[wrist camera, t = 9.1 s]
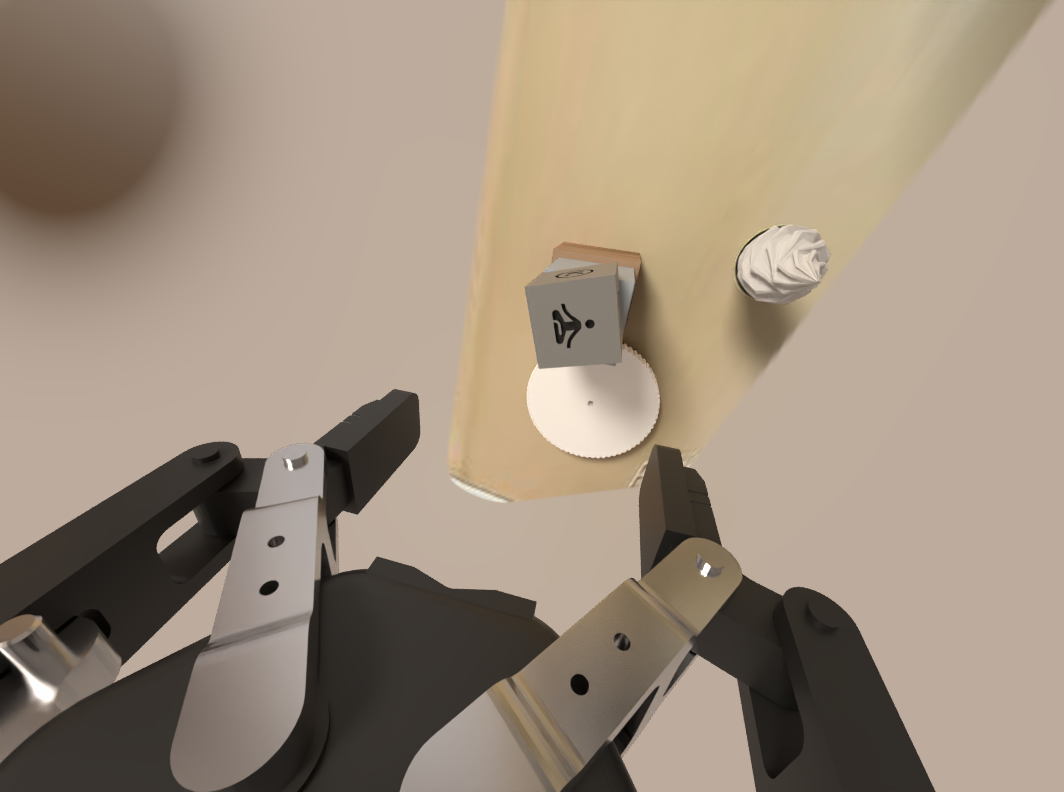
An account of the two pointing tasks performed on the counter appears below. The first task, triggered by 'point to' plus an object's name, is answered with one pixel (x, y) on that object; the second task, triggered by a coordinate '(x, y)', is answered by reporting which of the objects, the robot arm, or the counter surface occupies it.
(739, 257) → the ice cream cone
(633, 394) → the plastic lid
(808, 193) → the counter surface
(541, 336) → the dice cube
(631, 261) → the tower base
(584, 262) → the tower top
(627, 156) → the counter surface
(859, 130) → the counter surface
